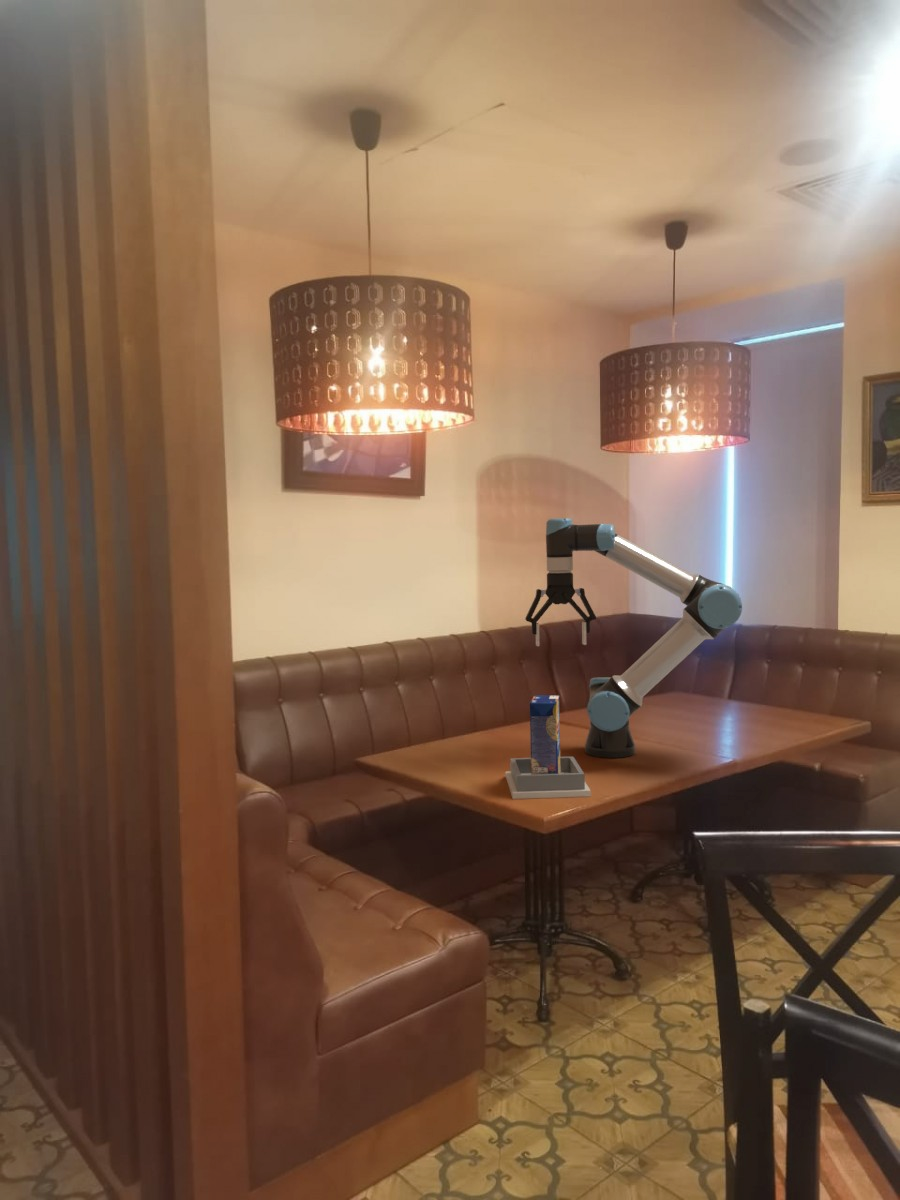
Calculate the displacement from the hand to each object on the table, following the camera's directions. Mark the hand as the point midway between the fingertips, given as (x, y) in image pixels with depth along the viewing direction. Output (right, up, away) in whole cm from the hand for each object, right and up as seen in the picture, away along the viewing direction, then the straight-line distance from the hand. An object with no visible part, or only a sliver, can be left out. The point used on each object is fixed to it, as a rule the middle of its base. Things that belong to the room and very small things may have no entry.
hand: (561, 645), depth 248 cm
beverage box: (-7, -35, -21) cm, 41 cm away
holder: (-7, -37, -20) cm, 42 cm away
